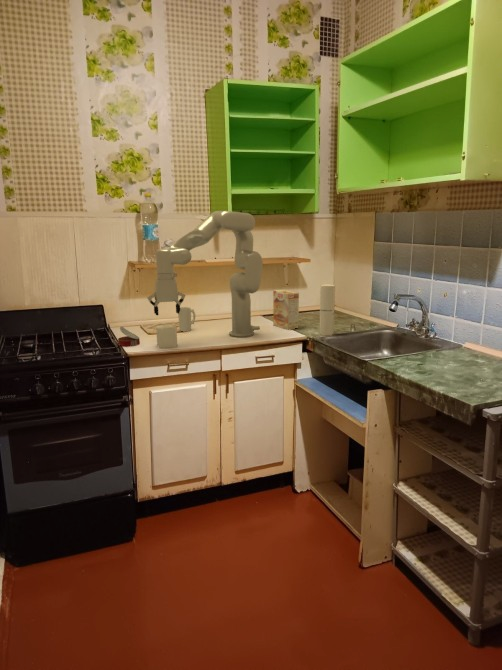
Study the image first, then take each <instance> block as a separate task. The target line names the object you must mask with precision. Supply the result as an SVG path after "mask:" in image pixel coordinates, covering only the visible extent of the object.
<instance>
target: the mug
mask: <svg viewBox="0 0 502 670" xmlns="http://www.w3.org/2000/svg"><path fill="white" fill-rule="evenodd" d="M177 314H178V313H177ZM192 314H193V318H192ZM177 316H178V330H181V331H183V333H186V332H191V331H192V325H195V321H196V313H195V309H194V308H191V307H190V306H185V307H184V306H183V307H181V306H180V312H179V314H178V315H177ZM181 331H180V332H181Z"/></svg>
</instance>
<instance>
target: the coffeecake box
mask: <svg viewBox="0 0 502 670" xmlns="http://www.w3.org/2000/svg"><path fill="white" fill-rule="evenodd" d="M272 294H273V299H272V300H273V301H272V303H273V307H272V308H273V311H272V312H273V320H272V321H273V326H275V327H278V328H281V329H283V330H287V329H288V330H287V331H290V330H289V329H292V330H296V329H295V328H298V329H299V315H300V314H299V311H300V310H299V303H300V300H299V298H300V293H299V292H295V291H292V290H287V289H274V290H273V293H272Z"/></svg>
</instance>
